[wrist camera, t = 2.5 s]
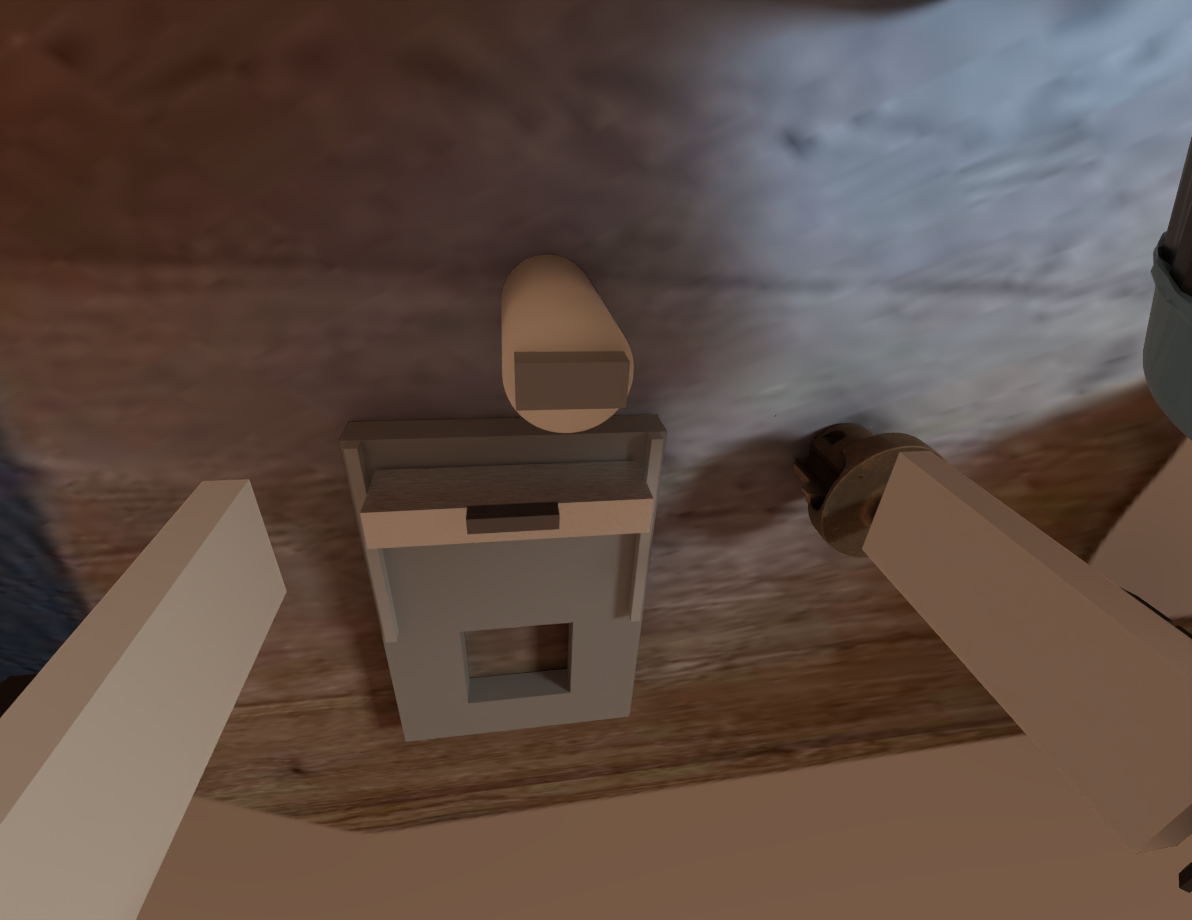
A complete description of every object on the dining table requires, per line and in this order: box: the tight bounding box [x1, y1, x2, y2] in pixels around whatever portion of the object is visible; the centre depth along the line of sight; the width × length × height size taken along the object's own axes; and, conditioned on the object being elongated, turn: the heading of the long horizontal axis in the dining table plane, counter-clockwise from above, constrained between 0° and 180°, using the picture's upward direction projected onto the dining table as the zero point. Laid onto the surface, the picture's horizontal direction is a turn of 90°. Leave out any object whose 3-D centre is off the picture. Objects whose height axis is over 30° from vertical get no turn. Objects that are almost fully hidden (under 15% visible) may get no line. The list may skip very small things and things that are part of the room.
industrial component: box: [775, 415, 947, 558], centre depth 28 cm, size 9×7×12 cm
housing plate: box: [339, 414, 667, 742], centre depth 33 cm, size 24×16×3 cm, turn 177°
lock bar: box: [360, 460, 654, 549], centre depth 26 cm, size 2×13×4 cm, turn 87°
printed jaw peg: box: [501, 254, 634, 433], centre depth 21 cm, size 4×4×10 cm
